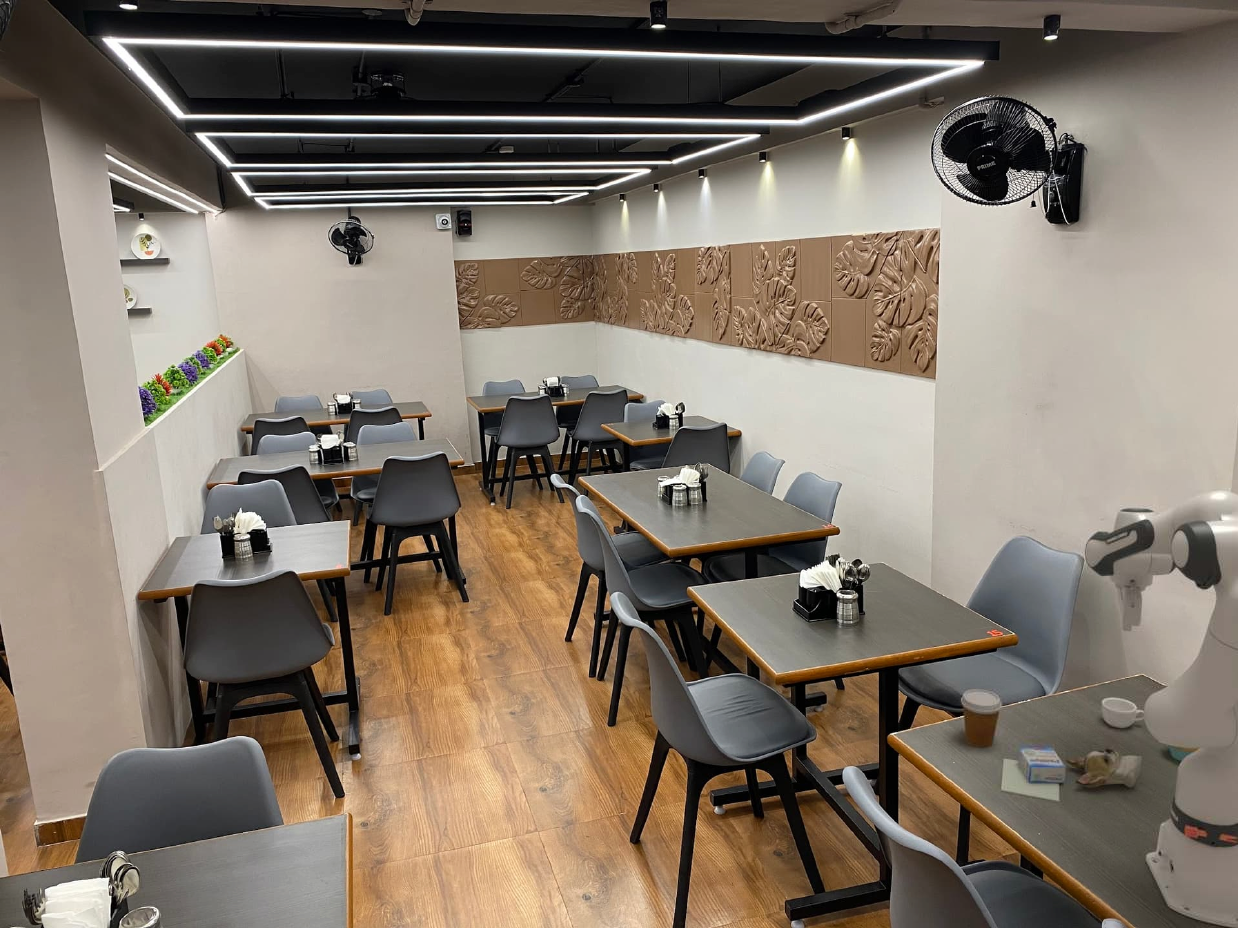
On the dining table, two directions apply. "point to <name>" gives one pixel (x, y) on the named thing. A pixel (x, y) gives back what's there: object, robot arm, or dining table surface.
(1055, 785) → the mat
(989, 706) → the disposable coffee cup
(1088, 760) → the ceramic sculpture
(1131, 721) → the teacup
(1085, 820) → the dining table surface
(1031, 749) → the medicine box
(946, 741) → the dining table surface
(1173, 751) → the cupcake
